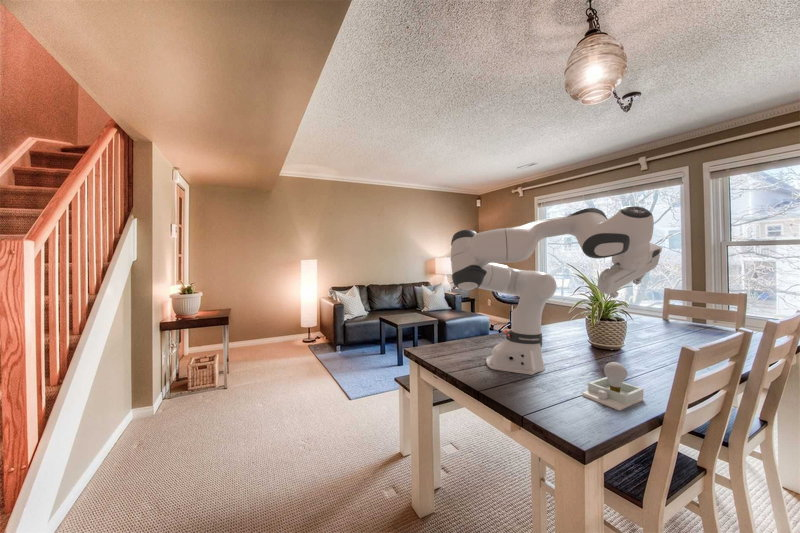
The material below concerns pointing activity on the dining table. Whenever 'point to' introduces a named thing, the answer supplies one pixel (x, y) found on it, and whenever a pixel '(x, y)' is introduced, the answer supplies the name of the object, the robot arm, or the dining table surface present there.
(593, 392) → the housing base
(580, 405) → the dining table surface
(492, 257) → the robot arm
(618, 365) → the light bulb
